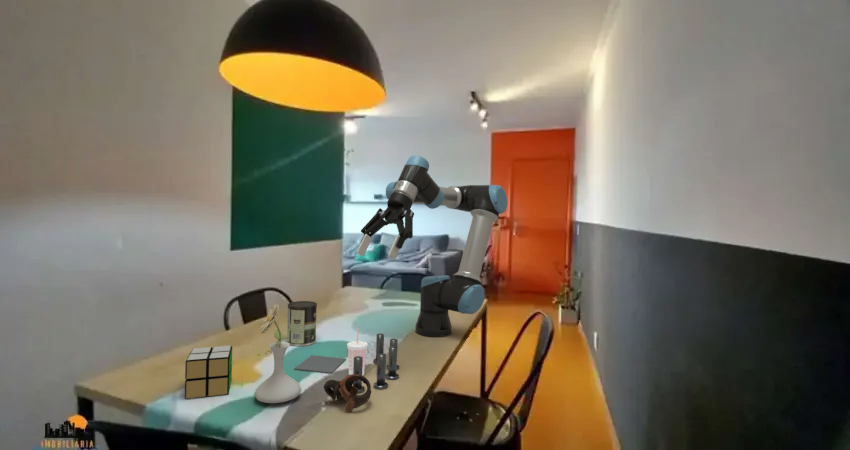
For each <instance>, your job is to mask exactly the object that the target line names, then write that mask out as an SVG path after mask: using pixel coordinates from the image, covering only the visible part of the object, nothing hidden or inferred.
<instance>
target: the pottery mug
mask: <svg viewBox="0 0 850 450" xmlns="http://www.w3.org/2000/svg"><path fill="white" fill-rule="evenodd" d="M359 379H360V380H362V384H365V385H366V388H367V389H366V391H364V392H363V393H361V394H359V395H357V392H358V390H359V389H358V388H355V387H353V383H354V381H357V380H359ZM371 388H372V386H371V383H370V381H369V379H368V378H367V377H365V376H364V375H358V374H352V375H349V374H348V375H346V376H345V377H344V378H342V379H341V380H336V379H329V380H327V381H325V383H324V384H323V390H324V392H325V393H326V394H327V396H329V397H331V399H332V400H333V401H332V402H336V400H339V399H340V398H341V397H342V398H343V399H344V401H346V402H347V403H346V406H345V408H344V410H345V411H346V412H350V413H351V412H352V411H354V409H357V408H360V407H361V406H363V405H365V404H366V403H368V400H370V398H371V394H372V389H371ZM351 395H352V396H354V398H353V397H351Z"/></svg>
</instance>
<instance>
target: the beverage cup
mask: <svg viewBox="0 0 850 450" xmlns="http://www.w3.org/2000/svg"><path fill="white" fill-rule="evenodd" d="M359 328H360V327H358V326H357V327H356V340H354V341H353V340H352V341H350V342H348V343H347V344H346V348H347V357H348V359H347V360H348V361H347V362H348V375H352V374H353V368H354V357H356V356H361V357H363V365H362V376H364V375H365V370H366V369H365V368H366V357H367V348H368V342H366V341H362V340H359V334H360V331H359V330H360V329H359Z"/></svg>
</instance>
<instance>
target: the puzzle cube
mask: <svg viewBox="0 0 850 450" xmlns="http://www.w3.org/2000/svg"><path fill="white" fill-rule="evenodd" d="M184 369H185V373H184V374H185V375H184V377H185V378H184V379H185V381H184V399H186V400H191V398H193V399H199V398H206V397H208V398H211V397H218V396H220V397H221V396H227V395H229V394H230V390H231V385H232V380H233V379H232V377H233V346H232V345H220V346H219V345H217V346H213V347H212V346H206V347H205V346H204V347H193V348H192V349H191V351H190V352H189V355H188V356H187V358H186V360H185V368H184Z"/></svg>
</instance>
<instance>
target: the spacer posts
mask: <svg viewBox="0 0 850 450" xmlns="http://www.w3.org/2000/svg"><path fill="white" fill-rule="evenodd" d="M398 342H399V341H398V339H397V338H390V339H389V347H388V364H387V353H384V346H385V334H384V333H376V341H375V343H376V345H375V347H376V348H375V358H374V359H372V363H373V364H375V365H376V382H374V383H373V388H374V389H376V390H386V389H387V388H389V384H388V382H386V380H389V381H396V380H398V379H399V378H400V374H398V373H397V371H399V369H400V365H399V364H398V345H399V344H398ZM362 365H363V357H361V356H356V357H354V368H353V374H358V375H362ZM386 370H387V371H386ZM386 372H387V373H386ZM362 376H363V375H362ZM352 386H353V387H355V388H358V389H359V390H358V392H357V394H363V393H365V392H366V391H365V390H366V386H364V385H363V381H362V380H360V379H359V380H357V381H354V383H353V384H352Z"/></svg>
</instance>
